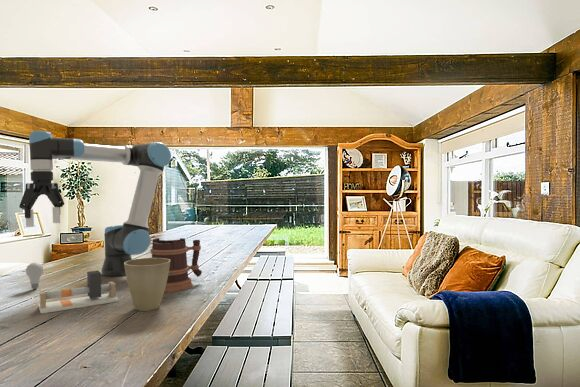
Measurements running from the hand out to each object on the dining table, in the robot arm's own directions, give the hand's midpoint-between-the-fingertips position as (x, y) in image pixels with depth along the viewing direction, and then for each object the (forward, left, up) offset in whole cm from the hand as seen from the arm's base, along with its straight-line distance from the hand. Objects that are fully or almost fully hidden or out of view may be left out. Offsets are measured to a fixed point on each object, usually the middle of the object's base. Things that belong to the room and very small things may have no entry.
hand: (43, 224), depth 160 cm
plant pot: (-27, +46, -27) cm, 60 cm away
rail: (-9, +26, -27) cm, 38 cm away
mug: (-45, +21, -27) cm, 57 cm away
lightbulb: (+3, -9, -27) cm, 29 cm away
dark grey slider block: (-14, +26, -25) cm, 38 cm away
